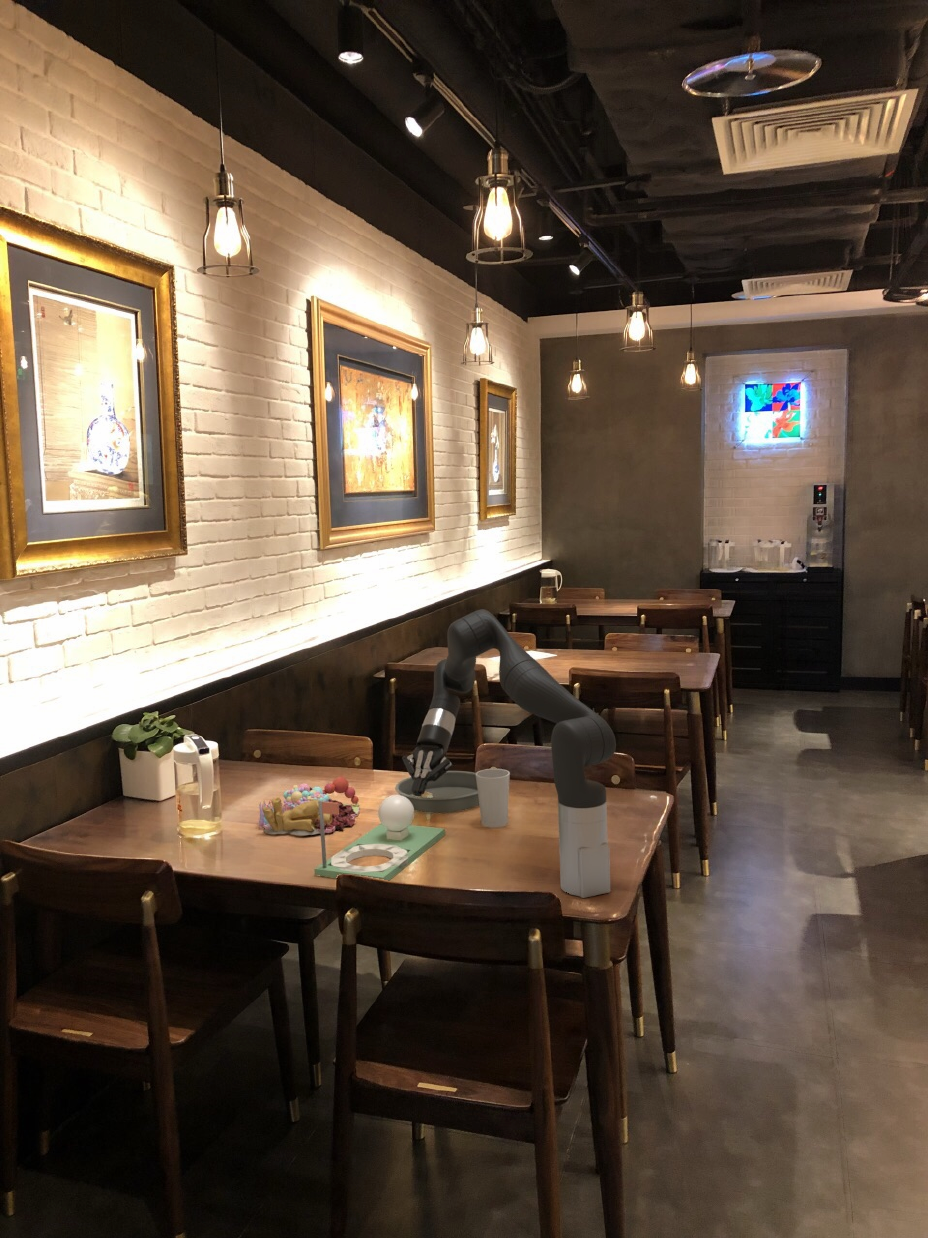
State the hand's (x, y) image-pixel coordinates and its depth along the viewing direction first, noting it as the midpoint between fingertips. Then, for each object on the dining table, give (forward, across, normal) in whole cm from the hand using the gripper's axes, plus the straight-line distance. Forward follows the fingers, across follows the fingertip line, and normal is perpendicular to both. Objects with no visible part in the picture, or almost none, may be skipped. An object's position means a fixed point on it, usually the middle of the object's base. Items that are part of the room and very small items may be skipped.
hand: (416, 794), depth 221 cm
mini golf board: (+18, 0, +7) cm, 20 cm away
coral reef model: (+8, +28, -4) cm, 29 cm away
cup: (0, -16, -11) cm, 20 cm away
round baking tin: (-9, +3, -21) cm, 23 cm away
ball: (+8, 0, +7) cm, 11 cm away
